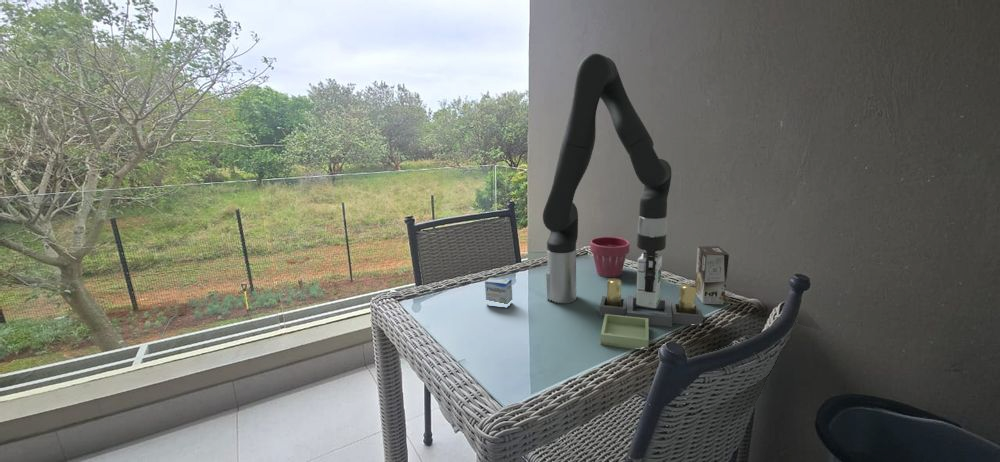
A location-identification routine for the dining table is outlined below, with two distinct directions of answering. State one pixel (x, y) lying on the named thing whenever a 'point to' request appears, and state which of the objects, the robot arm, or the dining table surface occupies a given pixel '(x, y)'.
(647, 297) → the syrup box
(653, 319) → the socket block
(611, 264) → the plant pot
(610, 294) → the left brass peg
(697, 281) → the coffee box
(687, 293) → the right brass peg
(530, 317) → the dining table surface
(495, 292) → the medicine box
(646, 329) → the tray
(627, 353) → the dining table surface
